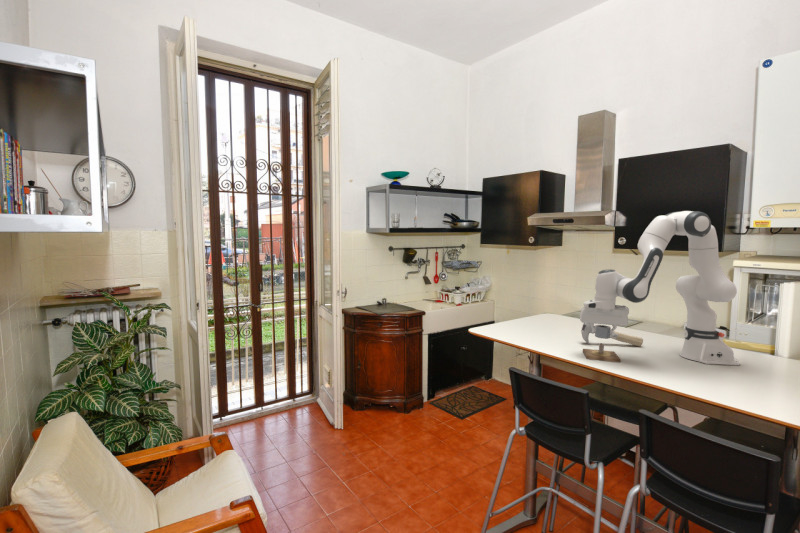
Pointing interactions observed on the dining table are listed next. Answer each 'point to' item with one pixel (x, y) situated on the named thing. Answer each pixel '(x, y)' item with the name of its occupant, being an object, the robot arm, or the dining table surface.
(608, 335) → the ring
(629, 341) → the hammer
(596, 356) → the post board
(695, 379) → the dining table surface
